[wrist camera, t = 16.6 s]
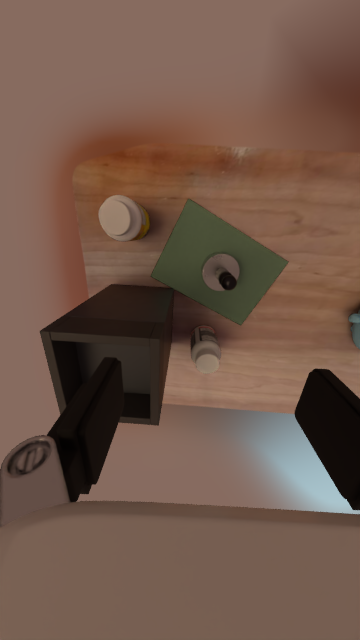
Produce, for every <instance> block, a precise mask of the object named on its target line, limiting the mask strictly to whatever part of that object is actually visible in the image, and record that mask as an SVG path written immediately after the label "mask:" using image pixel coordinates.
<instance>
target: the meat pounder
mask: <svg viewBox="0 0 360 640" xmlns="http://www.w3.org/2000/svg"><path fill="white" fill-rule="evenodd" d="M201 273H202V277H203V280H204V282H205V284H206V285H207V286H208V287H209V288H210V289H212V290H215V291H224V290H227V291H230V290H233V289H234V288H235V287H236V285H237V280H238V277H239V273H240V269H239V265H238V263H237V261H236V260H235V259H234V258H233V257H232V256H230V255H228V254H226V253H224V252H215V253H212V254H210V255H209V256H208V257H206V259H205V260H204V262H203V264H202V267H201Z"/></svg>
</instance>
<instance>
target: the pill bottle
mask: <svg viewBox="0 0 360 640" xmlns="http://www.w3.org/2000/svg"><path fill="white" fill-rule="evenodd" d="M191 358H192V360H193V362H194V363H195V365H196V368H197V370H198V371H200V372H201V373H204V374H211V373H213V372H215V371H216V370H217V369H218V368H219V365H220V362H219V360H220V358H221V349H220V346H219V343H218V339H217V336H216V333H215V331H214V330H213V329H212V328H211V327H209V326H205V325H202V326H198V327H196V328H195V329H194V330H193V331H192V333H191Z"/></svg>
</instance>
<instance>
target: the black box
mask: <svg viewBox="0 0 360 640" xmlns="http://www.w3.org/2000/svg"><path fill="white" fill-rule="evenodd" d="M173 297H174V289H173V288H161V287H146V286H130V285H115V284H111V285H109V286H108V287H106V288H105V289H103V290H102V291H100V292H99V293H97V294H96V295H94V296H93V297H91V298H90V299H88V300H87V301H85V302H84V303H82V304H80V305H79V306H77V307H76V308H74V309H73V310H71V311H70V312H68V313H67V314H65V315H64V316H62V317H61V318H59V319H57V320H56V321H54V322H53V323H51V324H50V325H48V326H47V327H46V328H44V329H42V330H41V331H40V334H41V338H42V342H43V346H44V350H45V354H46V358H47V362H48V366H49V370H50V374H51V378H52V382H53V386H54V390H55V394H56V398H57V402H58V406H59V410H60V414H62V412H63V411H64V409H65V408H66V406H67V405H68V404H69V402H70V401H71V399H72V398H73V396H74V395H75V393H76V392H77V390H78V389H79V388H80V386H81V385H82V384H84V383H88V381H89V380H90V378H91V377H92V375H93V373H94V372H95V370H96V369H97V367H98V366H99V364H100V363H101V361H102V360H103V358H104V357H116V358H117V359H118V361H121V367H122V379H123V391H124V408H123V411H122V414H121V417H120V420H119V422H121V423H134V424H147V425H150V424H151V425H159V420H160V413H161V406H162V400H163V394H164V388H165V381H166V375H167V368H168V362H169V356H170V349H171V343H172V320H173Z"/></svg>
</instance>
